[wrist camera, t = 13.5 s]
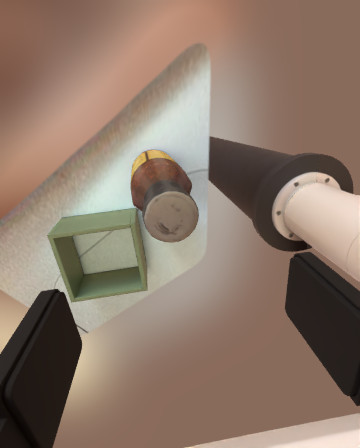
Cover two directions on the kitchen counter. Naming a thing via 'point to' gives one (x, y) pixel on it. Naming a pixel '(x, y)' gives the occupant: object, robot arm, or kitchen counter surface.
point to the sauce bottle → (163, 196)
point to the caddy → (104, 281)
